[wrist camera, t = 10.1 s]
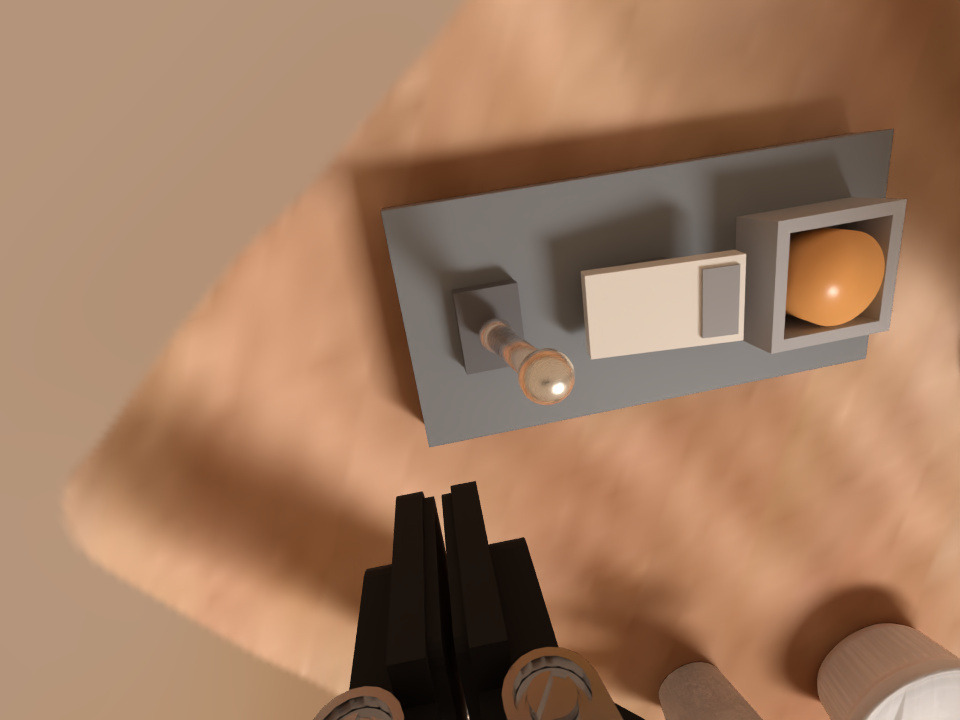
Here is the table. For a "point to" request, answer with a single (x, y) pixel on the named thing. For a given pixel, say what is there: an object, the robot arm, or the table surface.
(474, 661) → the robot arm
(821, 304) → the push button
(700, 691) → the house plant
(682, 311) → the rocker switch
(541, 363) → the toggle lever
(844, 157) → the control panel
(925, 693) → the ramekin
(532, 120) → the table surface
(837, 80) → the table surface
